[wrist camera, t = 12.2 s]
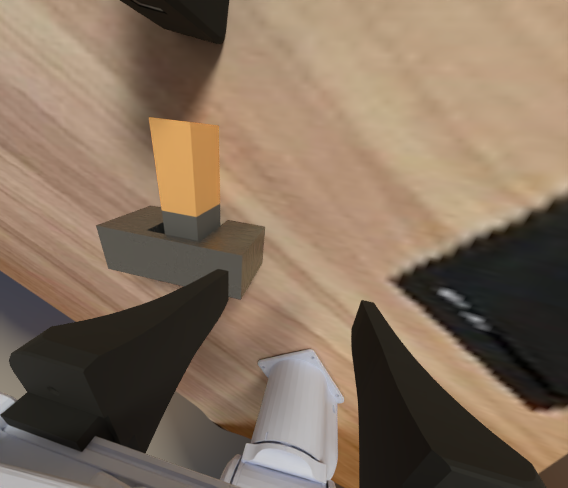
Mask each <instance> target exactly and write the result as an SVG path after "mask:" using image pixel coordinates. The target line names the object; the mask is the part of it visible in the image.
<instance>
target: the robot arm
mask: <svg viewBox="0 0 568 488" xmlns="http://www.w3.org/2000/svg"><path fill="white" fill-rule="evenodd" d="M228 294H229V271H226V270H221V269H217V270H215V271H213V272H211V273H209V274H207V275H205V276H203V277H202V278H200V279H198V280H196V281H194V282H192V283H190V284H188V285H186V286H184V287H182V288H180V289H178V290H176V291H174V292H172V293H169V294H167V295H165V296H163V297H160V298H158V299H155V300H153V301H150V302H147V303H145V304H142V305H139V306H136V307H132V308H129V309H126V310H123V311H120V312H116V313H113V314H109V315H105V316H101V317H97V318H93V319H88V320H84V321H79V322H74V323H68V324H64V325H58V326H52V327H50V328H49V329H47V330H46V331H44V332H43V333H41V334H40V335H38V336H37V337H35V338H34V339H32V340H31V341H29V342H28V343H26V344H25V345H23V346H22V347H20V348H19V349H17V350H16V351H14V352H13V353H11V356H10V359H9V362H10V366H11V368H12V370H13V372H14V373H15V374H16V376H17V377H18V379H19V380H20V382H21V383H22V385H23V386H24V388H25V389H26V391H27V393H26V394H25V395H24V396H22V397H21V398H20V399H19V400H16V399H15V398H14V397H12V396H10V395H8V394H5V393H2V392H0V488H336V487H335V483H334V482H333V481H331V480H330V479H331V478H332V476H333V474H334V471H335V469H336V465H337V459H338V430H337V403H343V402H344V397H343V396H342V394H341V392H340V391H339V389H338V388H337V386H336V385H335V383H334V381H333V380H332V378H331V377H330V375H329V374H328V372H327V370H326V369H325V367H324V366H323V364H322V363H321V361H320V360H319V358H318V356H317V355H316V353H315V352H314V351H313V350H312V349H307V350H303V351H298V352H294V353H289V354H284V355H280V356H275V357H271V358H266V359H261V360H259V361H258V366H259V367H260V368H261V370H262V371H263V372H264V373H265V375H266V376H267V377H268V382H267V386H266V389H265V393H264V396H263V400H262V404H261V407H260V411H259V415H258V418H257V422H256V425H255V429H254V433H253V436H252V440H251V443H246V445H245V448H244V452H243V455H239V454H237V455H235V456H234V457H233V459H232V460H231V461H229V462H228V464H227V465H226V467H225V469H224V471H223V473H222V475H221V477H220V480H218V479H216V478H213V477H210V476H207V475H204V474H201V473H198V472H196V471H193V470H190V469H187V468H184V467H182V466H179V465H176V464H173V463H170V462H167V461H165V460H162V459H159V458H156V457H153V456H150V455H148V454H145V453H146V451H147V449H148V447H149V444H150V442H151V440H152V438H153V436H154V434H155V431H156V429H157V427H158V425H159V423H160V420H161V418H162V416H163V414H164V412H165V410H166V408H167V406H168V404H169V402H170V400H171V398H172V396H173V394H174V392H175V390H176V388H177V386H178V384H179V382H180V381H181V379H182V377H183V375H184V373H185V371H186V369H187V367H188V366H189V364H190V362H191V360H192V358H193V357H194V355H195V353H196V352H197V350H198V349H199V347H200V346H201V344H202V343H203V341H204V340H205V338H206V337H207V335H208V334H209V333H210V331H211V330H212V328H213V327H214V325H215V324H216V322H217V321H218V319H219V318H220V316H221V314H222V312H223V310H224V308H225V306H226V304H227V302H228ZM351 342H352V356H353V365H354V372H355V380H356V388H357V397H358V413H359V488H546V486H545V484H544V483H543V481H542V480H541V478H540V476H539V475H538V473H537V471H536V470H535V468H534V467H533V465H532V464H531V463H530V462H529V461H528V460H527V459H525V458H524V457H523V456H521V455H520V454H519V453H518V452H516V451H515V450H514V449H513V448H511V447H510V446H509V445H508V444H506V443H505V442H504V441H502V440H501V439H500V438H499V437H497V436H496V435H495V434H494V433H492V432H491V431H490V430H489V429H488V428H486V427H485V426H484V425H483V424H482V423H481V422H479V421H478V420H477V419H476V418H475V417H474V416H472V415H471V414H470V413H469V412H468V411H467V410H466V409H465V408H463V407H462V406H461V405H460V404H459V403H458V402H457V401H456V400H455V399H454V398H453V397H452V396H451V395H449V394H448V393H447V392H446V391H445V390H444V389H443V388H442V387H441V386H440V385H439V384H438V383H437V382H436V381H435V380H434V379H433V378H432V377H431V376H430V375H429V373H428V372H427V371H426V370H425V369H424V368H423V367H422V366H421V365H420V364H419V363H418V361H417V360H416V359H415V358H414V357H413V356H412V354H411V353H410V352H409V351H408V349H407V348H406V347H405V346H404V345H403V343H402V342H401V341H400V339H399V338H398V337H397V335H396V334H395V333H394V331H393V330H392V328H391V327H390V326H389V324H388V323H387V321H386V320H385V318H384V317H383V315H382V314H381V312H380V311H379V310H378V308H377V307H376V305H375V304H374V303H373V302H368V301H363V300H361V303H360V306H359V309H358V312H357V315H356V318H355V321H354V324H353V326H352V336H351Z"/></svg>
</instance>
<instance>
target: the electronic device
mask: <svg viewBox="0 0 568 488" xmlns="http://www.w3.org/2000/svg"><path fill="white" fill-rule="evenodd" d="M120 1H122V2H123V3H125V4H126V5H128V6H130V7H131V8H133V9H134V10H136V11H137V12H139V13H140V14H142V15H144V16H145V17H147V18H148V19H150V20H151V21H153V22H154V23H156V24H157V25H159V26H161V27H162V28H164V29H167V30H171V31H174V32H178V33H181V34H185V35H188V36H192V37H195V38H199V39H202V40H206V41H209V42H213V43H216V44H222V42H223V41H224V38H225V33H226V25H227V16H228V6H229V0H120Z"/></svg>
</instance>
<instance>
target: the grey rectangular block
mask: <svg viewBox="0 0 568 488" xmlns="http://www.w3.org/2000/svg"><path fill="white" fill-rule="evenodd" d="M96 227H97V230H98V234H99V237H100V241H101V244H102V248H103V251H104V255H105V258H106V262H107V265H108V269H112V270H116V271H121V272H125V273H129V274H133V275H138V276H142V277H146V278H151V279H155V280H159V281H163V282H168V283H172V284H176V285H180V286H186V285H188V284H190V283H192V282H194V281H196V280H198V279H200V278H202V277H203V276H205V275H207V274H209V273H211V272H213V271H215V270H217V269H221V270H226V271H229V294H228V297H231V298H236V299H240V300H241V299H242V297H243V295H244V293H245V292H246V290H247V288H248V287H249V285H250V283H251V281H252V280H253V278H254V276H255V275H256V273H257V271H258V269H259V268H260V266H261V264H262V259H263V246H264V234H265V227H263V226H257V225H252V224H246V223H241V222H236V221H230V220H227V221H226V222H225V223H223V224H222V225H221V226H220V227H218V228H217V229H216V230H214V231H213V232H212V233H210V234H209V235H208V236H206V237H205V238H204V239H202V240H201V241H196V240H191V239H186V238H181V237H176V236H172V235H167V234H165V231H164V224H163V216H162V209H161V207H155V206H148V207H146V208H143V209H140V210H137V211H135V212H132V213H129V214H126V215H124V216H121V217H118V218H115V219H113V220H110V221H107V222H104V223H102V224H99V225H96Z"/></svg>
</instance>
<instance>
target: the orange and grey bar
mask: <svg viewBox="0 0 568 488" xmlns="http://www.w3.org/2000/svg"><path fill="white" fill-rule="evenodd" d="M149 123H150V130H151V137H152V144H153V151H154V159H155V166H156V173H157V180H158V187H159V195H160V202H161V209H162V216H163V224H164V231H165V234H167V235H172V236H176V237H181V238H186V239H191V240H196V241H201V240H202V239H204V238H205V237H206V236H208V235H209V234H210V233H212V232H213V231H214V230H216V229H217V228H218V227H220V177H219V126H217V125H209V124H202V123H194V122H186V121H177V120H169V119H160V118H152V117H149Z"/></svg>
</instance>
